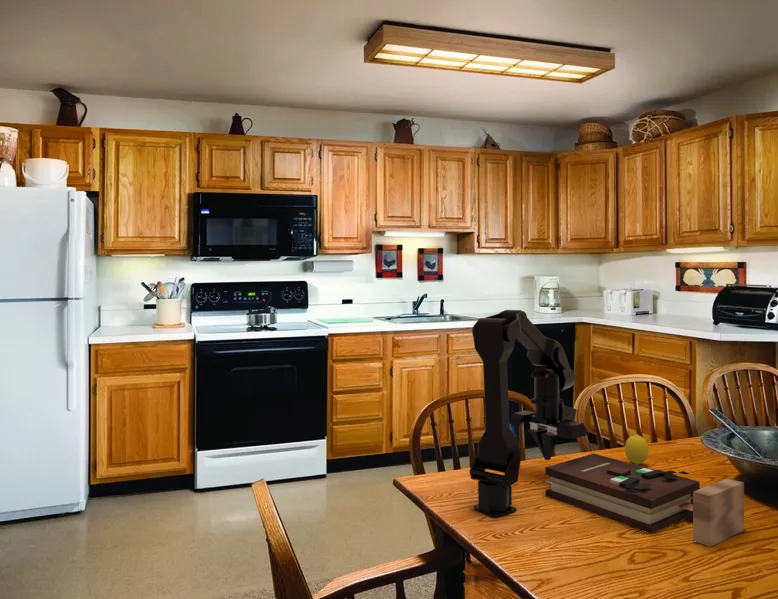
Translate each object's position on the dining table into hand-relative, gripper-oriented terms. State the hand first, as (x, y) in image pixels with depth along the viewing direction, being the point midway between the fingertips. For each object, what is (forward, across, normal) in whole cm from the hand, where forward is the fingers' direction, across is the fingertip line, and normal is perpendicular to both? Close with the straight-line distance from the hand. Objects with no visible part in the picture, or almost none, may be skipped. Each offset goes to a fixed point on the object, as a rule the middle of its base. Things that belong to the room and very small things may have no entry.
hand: (547, 459), depth 144 cm
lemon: (+5, -7, -25) cm, 26 cm away
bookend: (+4, -40, 0) cm, 41 cm away
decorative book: (+5, -20, +1) cm, 21 cm away
